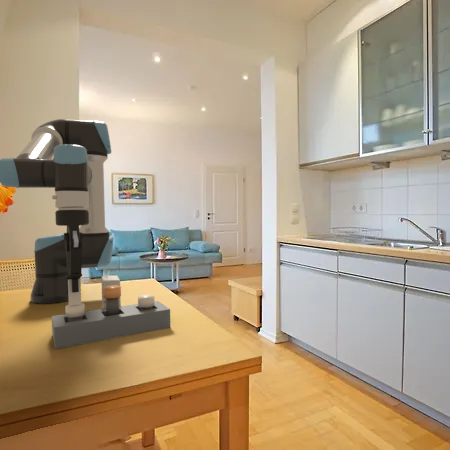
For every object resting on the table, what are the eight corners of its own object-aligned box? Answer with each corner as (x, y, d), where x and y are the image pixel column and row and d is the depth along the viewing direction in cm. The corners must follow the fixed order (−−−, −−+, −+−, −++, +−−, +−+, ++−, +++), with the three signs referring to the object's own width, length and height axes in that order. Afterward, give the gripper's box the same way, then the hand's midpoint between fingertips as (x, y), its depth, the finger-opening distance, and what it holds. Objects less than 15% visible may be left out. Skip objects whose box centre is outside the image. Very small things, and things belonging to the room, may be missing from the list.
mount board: (52, 335, 89) (51, 316, 88) (158, 317, 102) (158, 300, 102) (55, 348, 80) (54, 327, 80) (170, 327, 94) (170, 309, 94)
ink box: (121, 319, 101) (120, 279, 101) (103, 321, 100) (102, 280, 99) (118, 311, 109) (117, 274, 109) (101, 313, 107) (100, 275, 107)
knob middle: (102, 314, 92) (101, 286, 92) (119, 311, 94) (118, 284, 94) (105, 318, 88) (104, 289, 88) (123, 316, 90) (122, 287, 90)
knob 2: (136, 322, 96) (136, 296, 96) (152, 319, 99) (151, 293, 98) (141, 326, 93) (140, 299, 92) (157, 324, 95) (156, 297, 95)
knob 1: (65, 333, 88) (64, 304, 87) (84, 330, 90) (83, 302, 89) (67, 339, 84) (66, 308, 83) (86, 335, 86) (85, 306, 86)
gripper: (53, 209, 89) (56, 300, 90) (57, 209, 78) (60, 313, 79) (84, 209, 93) (87, 296, 94) (92, 208, 82) (95, 308, 83)
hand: (75, 304), depth 86 cm, fingers closed
